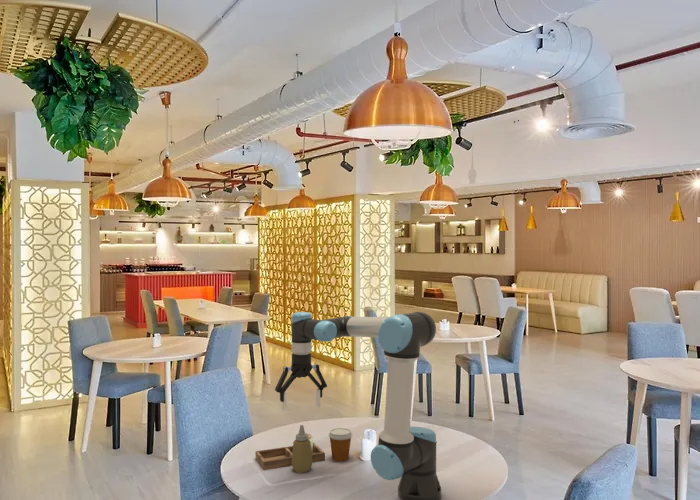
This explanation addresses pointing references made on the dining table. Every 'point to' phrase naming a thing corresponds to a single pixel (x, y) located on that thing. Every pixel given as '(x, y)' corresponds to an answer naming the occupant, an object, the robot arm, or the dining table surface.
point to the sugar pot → (311, 441)
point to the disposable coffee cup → (340, 443)
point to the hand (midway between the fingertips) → (301, 408)
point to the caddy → (283, 457)
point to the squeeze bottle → (301, 452)
